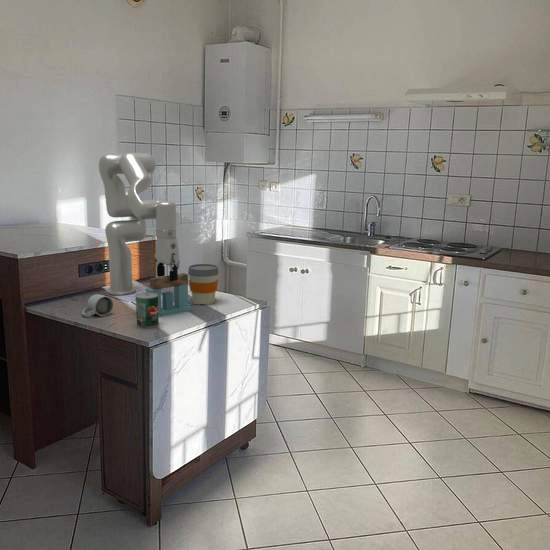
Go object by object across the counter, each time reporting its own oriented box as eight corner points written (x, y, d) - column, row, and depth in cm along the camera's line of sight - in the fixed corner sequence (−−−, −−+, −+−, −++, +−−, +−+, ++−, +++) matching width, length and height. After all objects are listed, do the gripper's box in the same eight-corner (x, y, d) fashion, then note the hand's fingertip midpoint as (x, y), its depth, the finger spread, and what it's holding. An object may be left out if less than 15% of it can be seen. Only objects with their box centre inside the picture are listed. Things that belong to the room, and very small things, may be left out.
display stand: (143, 314, 215) (142, 288, 213) (183, 307, 227) (183, 281, 225) (151, 318, 211) (150, 291, 209) (191, 310, 223) (191, 284, 220)
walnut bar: (184, 283, 223) (184, 273, 222) (188, 284, 221) (188, 274, 220) (150, 288, 213) (149, 278, 212) (154, 289, 211) (153, 279, 210)
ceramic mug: (104, 309, 221) (102, 290, 219) (114, 314, 216) (113, 294, 214) (78, 315, 214) (76, 295, 212) (88, 319, 208) (86, 300, 207)
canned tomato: (157, 327, 200) (156, 298, 198) (135, 327, 200) (133, 298, 197) (160, 321, 208) (159, 292, 206) (138, 321, 208) (137, 292, 205)
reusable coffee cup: (182, 300, 236) (182, 266, 233) (207, 296, 244) (207, 262, 241) (199, 307, 227) (198, 271, 224) (224, 302, 235) (224, 267, 232)
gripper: (187, 236, 208) (187, 281, 212) (163, 230, 221) (164, 273, 225) (169, 238, 204) (170, 284, 207) (146, 232, 216) (147, 275, 220)
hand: (167, 278), depth 216 cm, fingers open, 9 cm apart
